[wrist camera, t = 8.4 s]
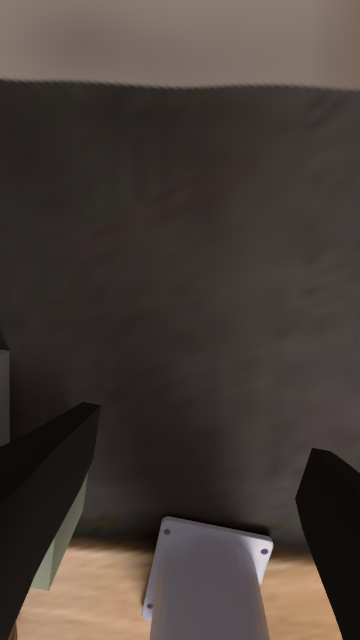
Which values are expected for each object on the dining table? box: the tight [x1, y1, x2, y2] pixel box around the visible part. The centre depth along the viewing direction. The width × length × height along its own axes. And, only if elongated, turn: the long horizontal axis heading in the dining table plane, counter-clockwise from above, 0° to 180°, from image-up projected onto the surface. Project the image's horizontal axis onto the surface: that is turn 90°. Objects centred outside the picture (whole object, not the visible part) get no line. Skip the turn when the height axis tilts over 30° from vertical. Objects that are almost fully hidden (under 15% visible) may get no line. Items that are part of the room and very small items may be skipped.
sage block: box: [30, 473, 88, 591], centre depth 19 cm, size 4×4×6 cm
